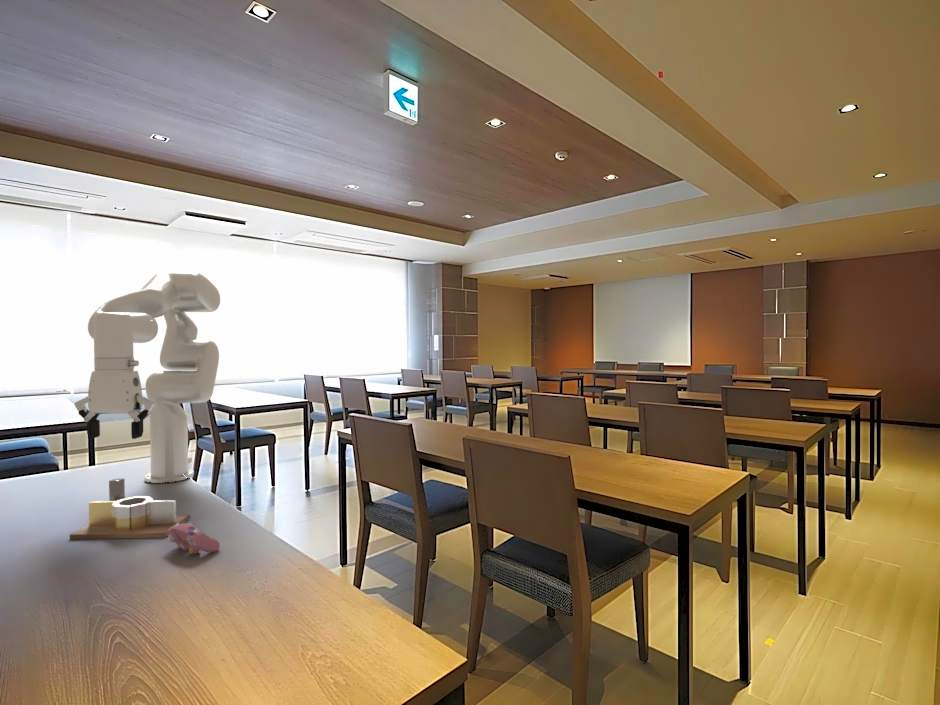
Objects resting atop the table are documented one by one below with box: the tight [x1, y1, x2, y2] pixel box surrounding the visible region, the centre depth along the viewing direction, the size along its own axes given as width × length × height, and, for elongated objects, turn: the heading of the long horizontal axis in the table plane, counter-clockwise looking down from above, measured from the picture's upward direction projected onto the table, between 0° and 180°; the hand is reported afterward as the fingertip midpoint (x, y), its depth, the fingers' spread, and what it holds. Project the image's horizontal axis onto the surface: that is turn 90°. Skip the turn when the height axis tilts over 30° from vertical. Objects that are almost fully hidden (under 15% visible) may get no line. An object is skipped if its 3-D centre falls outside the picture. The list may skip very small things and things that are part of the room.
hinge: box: [88, 495, 177, 530], centre depth 111 cm, size 7×18×5 cm, turn 94°
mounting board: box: [69, 513, 191, 540], centre depth 111 cm, size 11×19×1 cm, turn 94°
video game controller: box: [166, 522, 221, 555], centre depth 100 cm, size 10×5×7 cm, turn 62°
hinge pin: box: [108, 478, 126, 501], centre depth 120 cm, size 3×3×8 cm
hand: (115, 437), depth 119 cm, fingers open, 9 cm apart
